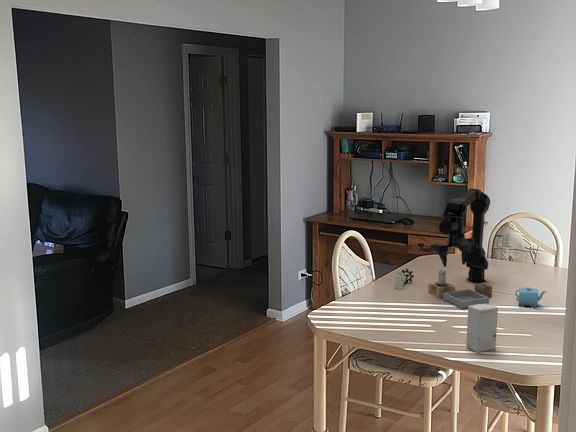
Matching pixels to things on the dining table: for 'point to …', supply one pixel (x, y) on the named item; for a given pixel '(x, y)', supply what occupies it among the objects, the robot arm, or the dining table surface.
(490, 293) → the walnut block
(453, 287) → the oak block
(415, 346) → the dining table surface
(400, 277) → the valve
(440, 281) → the gauge pin
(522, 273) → the dining table surface
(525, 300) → the teapot
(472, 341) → the skincare box
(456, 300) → the tray
